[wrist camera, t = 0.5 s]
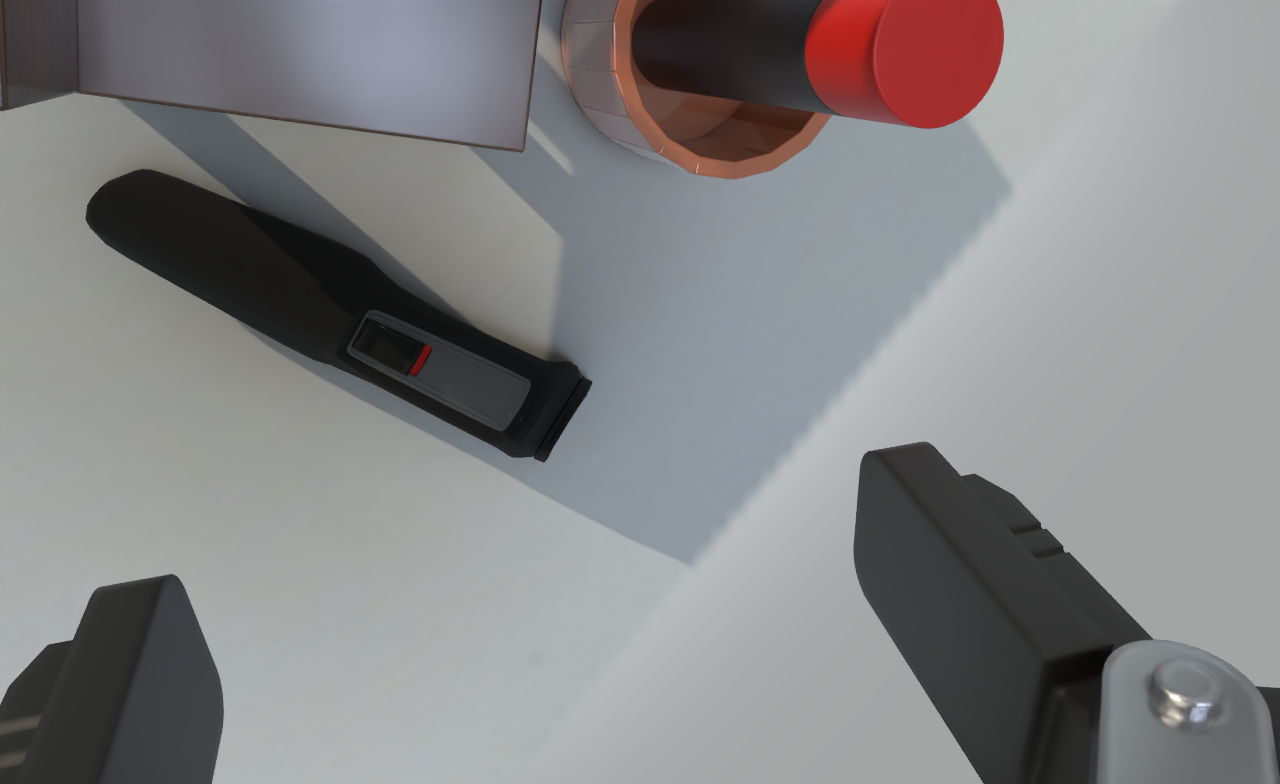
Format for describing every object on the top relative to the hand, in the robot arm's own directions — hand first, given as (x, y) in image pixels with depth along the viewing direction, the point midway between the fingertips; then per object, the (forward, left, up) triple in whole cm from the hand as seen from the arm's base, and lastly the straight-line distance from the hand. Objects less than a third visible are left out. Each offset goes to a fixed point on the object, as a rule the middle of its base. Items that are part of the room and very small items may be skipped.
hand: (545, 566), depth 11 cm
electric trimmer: (+3, -1, -21) cm, 21 cm away
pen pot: (-7, +8, -20) cm, 23 cm away
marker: (-7, +8, -20) cm, 22 cm away
